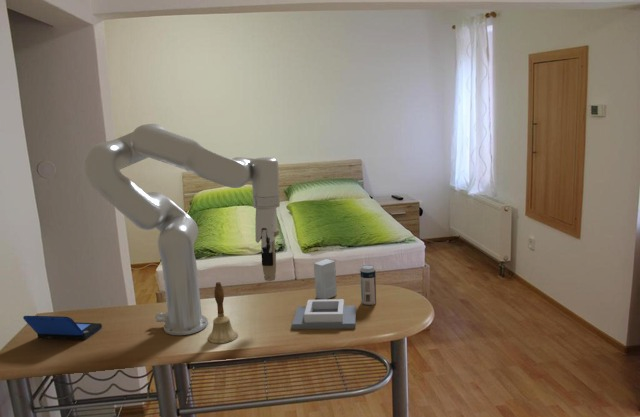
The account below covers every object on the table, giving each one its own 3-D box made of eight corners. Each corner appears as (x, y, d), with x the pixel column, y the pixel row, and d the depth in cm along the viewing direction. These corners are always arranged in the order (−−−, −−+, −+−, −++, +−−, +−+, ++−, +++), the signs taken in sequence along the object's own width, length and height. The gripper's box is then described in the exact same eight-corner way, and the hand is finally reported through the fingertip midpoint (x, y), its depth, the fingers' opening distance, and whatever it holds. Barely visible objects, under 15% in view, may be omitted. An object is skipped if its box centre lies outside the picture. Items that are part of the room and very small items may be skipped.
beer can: (379, 303, 161) (378, 266, 159) (367, 307, 159) (366, 270, 156) (369, 298, 165) (368, 263, 163) (358, 302, 163) (356, 266, 160)
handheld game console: (104, 327, 154) (100, 298, 152) (75, 348, 141) (70, 317, 139) (59, 325, 157) (54, 297, 155) (26, 346, 144) (20, 315, 143)
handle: (280, 282, 148) (278, 232, 145) (257, 282, 148) (255, 232, 145) (281, 276, 152) (279, 228, 149) (260, 277, 153) (257, 228, 150)
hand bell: (206, 333, 146) (201, 280, 143) (235, 328, 148) (230, 276, 145) (209, 346, 138) (204, 290, 135) (240, 340, 141) (235, 285, 137)
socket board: (292, 329, 146) (291, 316, 145) (297, 310, 159) (297, 298, 158) (355, 328, 144) (354, 315, 143) (356, 310, 157) (355, 297, 156)
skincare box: (328, 292, 173) (326, 258, 170) (337, 295, 169) (335, 261, 167) (315, 297, 169) (313, 263, 166) (323, 300, 166) (322, 265, 163)
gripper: (259, 196, 154) (261, 254, 158) (246, 207, 138) (250, 272, 141) (283, 196, 153) (286, 254, 157) (274, 207, 137) (277, 272, 141)
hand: (269, 262), depth 149 cm, fingers closed on handle, 3 cm apart
